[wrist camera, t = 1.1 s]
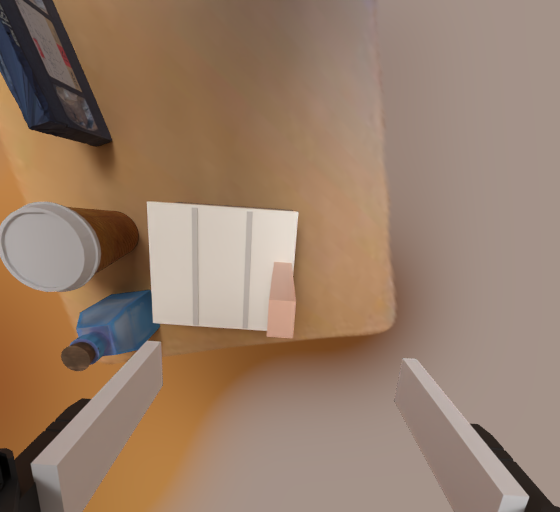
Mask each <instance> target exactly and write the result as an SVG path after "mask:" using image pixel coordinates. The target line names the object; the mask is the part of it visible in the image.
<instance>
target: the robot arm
mask: <svg viewBox="0 0 560 512" xmlns="http://www.w3.org/2000/svg"><path fill="white" fill-rule="evenodd" d="M162 379H163V378H162V352H161V342H159V341H146V342H145V343H144V344H143V345H142V346H141V347H140V349H139V350H138V351H137V352H136V353H135V354H134V355H133V356H132V357H131V358H130V359H129V360H128V361H127V362H126V363H125V365H123V367H122V368H121V369H120V370H119V371H118V372H117V373H116V374H115V375H114V376H113V377H112V378H111V379H110V380H109V382H107V383H106V385H105V386H104V387H103V388H102V389H101V390H100V391H99V392H98V393H97V394H96V395H95V396H94V397H93V398H92V399H81V400H79V401H77V402H76V403H74V404H73V405H71V406H70V407H68V408H67V409H66V410H65V411H64V412H63V413H62V414H61V415H60V416H59V417H58V418H57V419H56V420H55V422H52V423H51V424H50V425H49V426H48V427H47V428H46V431H43V432H42V433H41V434H40V435H39V436H38V437H37V438H36V439H35V440H34V441H33V442H32V443H31V444H30V445H29V446H28V447H27V448H26V449H25V450H24V451H23V452H22V453H21V454H20V455H19V456H18V457H17V458H16V459H15V460H14V456H13V452H12V451H11V450H9V449H7V448H4V449H0V512H82V511H83V510H84V508H85V507H86V505H87V504H88V502H89V500H90V499H91V497H92V496H93V494H94V493H95V491H96V489H97V488H98V486H99V485H100V483H101V482H102V480H103V478H104V477H105V475H106V474H107V472H108V470H109V469H110V467H111V466H112V464H113V463H114V461H115V460H116V458H117V456H118V455H119V453H120V452H121V450H122V448H123V447H124V445H125V444H126V442H127V441H128V439H129V438H130V436H131V434H132V433H133V431H134V430H135V428H136V427H137V425H138V423H139V422H140V420H141V419H142V417H143V415H144V414H145V412H146V411H147V409H148V408H149V406H150V405H151V403H152V402H153V400H154V398H155V397H156V395H157V394H158V392H159V391H160V389H161V387H162V386H163V380H162ZM394 402H395V404H396V406H397V407H398V409H399V411H400V413H401V415H402V417H403V419H404V420H405V422H406V424H407V426H408V428H409V430H410V431H411V433H412V435H413V437H414V439H415V441H416V443H417V444H418V446H419V448H420V450H421V452H422V454H423V455H424V457H425V459H426V461H427V463H428V465H429V467H430V468H431V470H432V472H433V474H434V476H435V478H436V479H437V481H438V483H439V485H440V487H441V489H442V490H443V492H444V494H445V496H446V498H447V500H448V502H449V504H450V505H451V507H452V509H453V511H454V512H560V508H559V507H556V506H554V505H553V504H552V503H551V502H550V501H549V500H548V499H547V497H546V496H545V495H544V494H543V493H542V492H541V491H540V489H539V488H538V487H537V486H536V485H535V484H534V483H533V482H532V480H531V479H530V478H529V477H528V476H527V475H526V473H525V472H524V471H523V470H522V469H521V468H520V467H519V465H518V464H517V463H516V462H514V461H513V459H512V458H511V456H510V455H509V454H508V453H507V452H506V451H504V449H503V447H502V446H501V445H500V444H499V443H498V441H497V440H496V439H495V438H494V437H493V436H492V435H491V434H490V433H489V432H487V431H486V430H485V429H483V428H482V427H481V426H480V425H478V424H469V422H468V421H467V420H466V419H465V418H464V416H463V415H462V414H461V413H460V411H459V410H458V409H457V408H456V407H455V405H454V404H453V403H452V402H451V400H450V399H449V398H448V397H447V396H446V394H445V393H444V392H443V391H442V389H441V388H440V387H439V386H438V385H437V383H436V382H435V381H434V380H433V379H432V377H431V376H430V375H429V374H428V372H427V371H426V370H425V369H424V367H422V365H421V364H420V363H419V361H418V360H417V359H408V358H402V363H401V368H400V373H399V379H398V383H397V388H396V393H395V399H394Z"/></svg>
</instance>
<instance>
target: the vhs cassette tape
mask: <svg viewBox="0 0 560 512" xmlns="http://www.w3.org/2000/svg"><path fill="white" fill-rule="evenodd" d="M0 72H1V74H2V76H3V78H4V80H5V82H6V84H7V86H8V88H9V89H10V91H11V93H12V95H13V97H14V98H15V100H16V102H17V103H18V105H19V108H20V110H21V111H22V114H23V117H24V119H25V121H26V123H27V125H28V127H29V129H31V130H35V131H39V132H42V133H46V134H51V135H54V136H56V137H57V136H59V137H62V138H66V139H70V140H74V141H78V142H81V143H87V144H89V145H92V146H100V145H103V144H105V143H109V142H111V141H112V138H111V135H110V133H109V130H108V128H107V126H106V123H105V121H104V118H103V116H102V114H101V111H100V109H99V107H98V104H97V102H96V100H95V97H94V95H93V93H92V90H91V88H90V86H89V83H88V81H87V79H86V76H85V74H84V72H83V69H82V67H81V65H80V62H79V60H78V58H77V55H76V53H75V51H74V48H73V46H72V44H71V42H70V39H69V37H68V34H67V32H66V30H65V28H64V26H63V23H62V21H61V19H60V16H59V14H58V12H57V10H56V7H55V5H54V3H53V0H0Z"/></svg>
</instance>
